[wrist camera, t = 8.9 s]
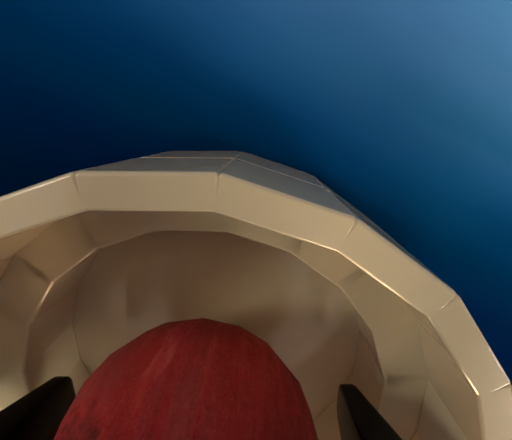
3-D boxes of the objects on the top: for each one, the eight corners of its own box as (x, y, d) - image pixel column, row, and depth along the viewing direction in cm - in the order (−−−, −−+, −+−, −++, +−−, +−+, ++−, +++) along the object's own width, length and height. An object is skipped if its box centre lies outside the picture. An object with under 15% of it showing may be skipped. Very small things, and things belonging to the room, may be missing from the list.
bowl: (430, 150, 9) (632, 174, 4) (375, 464, 13) (443, 670, 8) (-2, 148, 9) (-300, 168, 4) (75, 454, 13) (-36, 643, 8)
